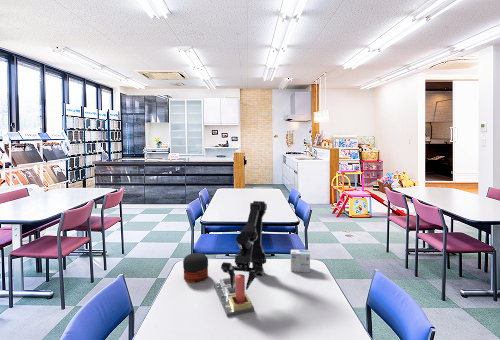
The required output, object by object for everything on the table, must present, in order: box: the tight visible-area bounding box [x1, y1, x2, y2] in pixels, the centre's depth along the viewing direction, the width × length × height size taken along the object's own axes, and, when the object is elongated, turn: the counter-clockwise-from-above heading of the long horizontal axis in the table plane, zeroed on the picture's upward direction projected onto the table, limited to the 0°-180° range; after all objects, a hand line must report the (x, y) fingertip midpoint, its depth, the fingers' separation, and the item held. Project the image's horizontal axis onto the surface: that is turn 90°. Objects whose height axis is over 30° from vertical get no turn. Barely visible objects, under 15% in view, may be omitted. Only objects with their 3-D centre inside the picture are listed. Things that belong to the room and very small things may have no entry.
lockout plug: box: [235, 274, 246, 304], centre depth 134 cm, size 4×4×13 cm
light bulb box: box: [290, 249, 311, 273], centre depth 173 cm, size 11×7×11 cm, turn 84°
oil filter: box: [182, 252, 209, 284], centre depth 164 cm, size 13×12×13 cm
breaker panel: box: [213, 276, 255, 317], centre depth 143 cm, size 27×12×4 cm, turn 18°
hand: (239, 288), depth 133 cm, fingers open, 6 cm apart
